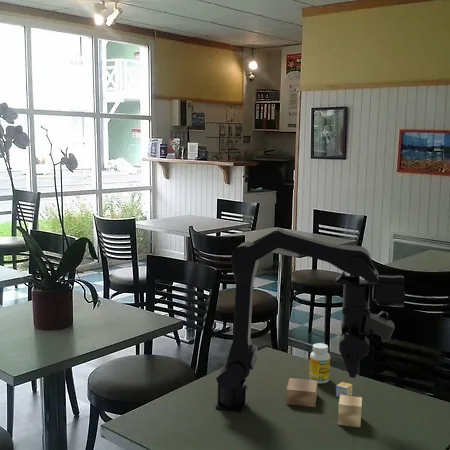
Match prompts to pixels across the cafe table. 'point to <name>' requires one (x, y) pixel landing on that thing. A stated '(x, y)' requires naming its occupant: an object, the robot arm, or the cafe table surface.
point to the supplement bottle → (320, 363)
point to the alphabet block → (343, 389)
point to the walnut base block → (301, 392)
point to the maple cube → (349, 411)
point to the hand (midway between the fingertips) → (352, 369)
